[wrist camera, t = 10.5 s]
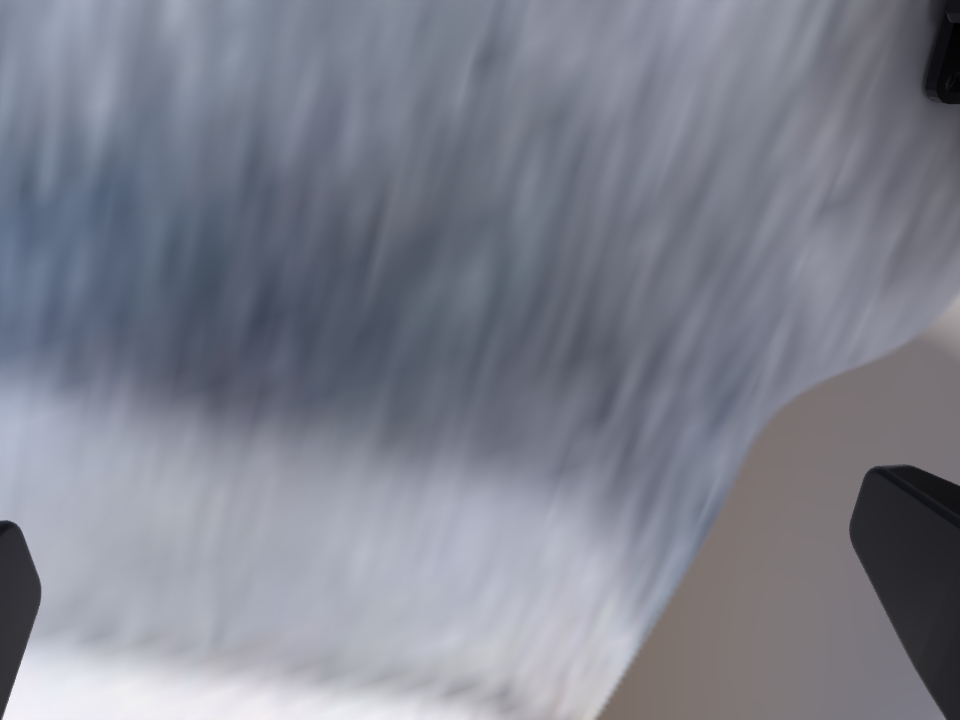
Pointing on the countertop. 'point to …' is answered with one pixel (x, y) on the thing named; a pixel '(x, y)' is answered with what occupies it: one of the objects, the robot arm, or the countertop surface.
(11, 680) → the robot arm
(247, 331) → the countertop surface
